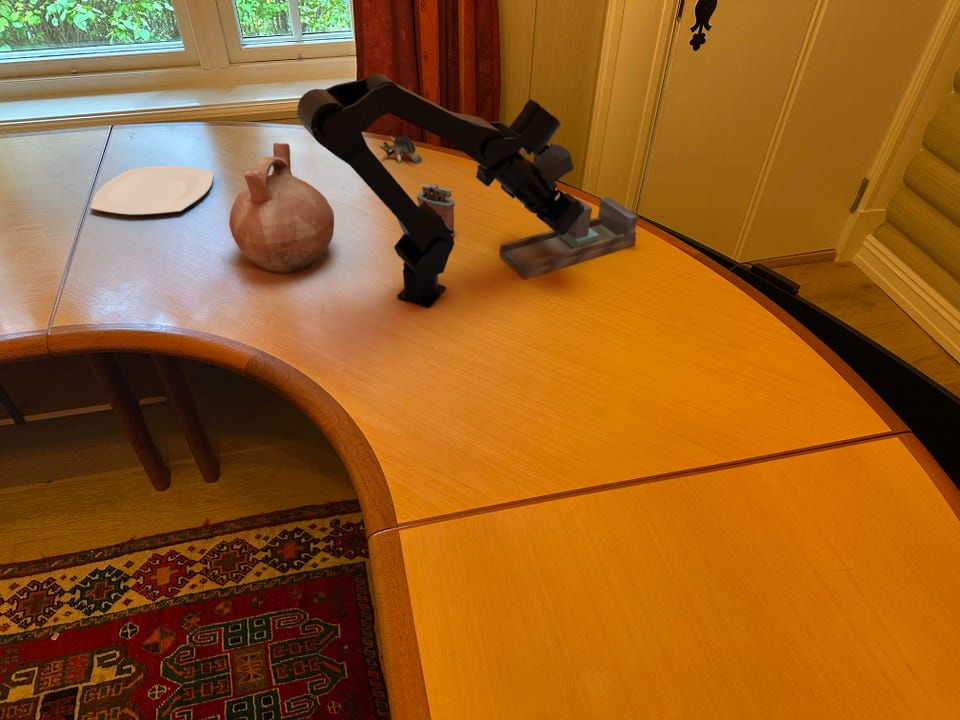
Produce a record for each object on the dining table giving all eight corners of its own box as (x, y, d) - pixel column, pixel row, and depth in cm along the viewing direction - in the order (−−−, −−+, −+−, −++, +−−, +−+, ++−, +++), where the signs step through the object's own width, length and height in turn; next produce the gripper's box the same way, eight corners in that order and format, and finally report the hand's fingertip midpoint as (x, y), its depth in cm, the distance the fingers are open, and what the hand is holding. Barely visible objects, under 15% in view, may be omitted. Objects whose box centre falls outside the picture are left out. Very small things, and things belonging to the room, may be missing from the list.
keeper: (576, 250, 115) (581, 213, 110) (558, 236, 119) (562, 199, 114) (597, 244, 117) (603, 207, 112) (578, 230, 121) (583, 194, 116)
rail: (524, 279, 110) (527, 248, 106) (499, 256, 116) (500, 225, 112) (634, 245, 120) (641, 215, 116) (606, 225, 126) (611, 196, 122)
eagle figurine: (379, 162, 144) (415, 159, 142) (377, 131, 143) (413, 127, 141) (391, 168, 152) (425, 165, 150) (389, 138, 151) (424, 135, 149)
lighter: (415, 231, 123) (412, 185, 116) (424, 224, 125) (422, 178, 118) (449, 241, 120) (449, 194, 113) (458, 234, 122) (457, 187, 116)
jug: (315, 290, 107) (294, 183, 93) (221, 277, 109) (188, 171, 96) (353, 238, 120) (339, 138, 107) (268, 227, 123) (244, 129, 109)
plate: (190, 224, 124) (187, 215, 123) (77, 220, 124) (73, 212, 123) (227, 175, 141) (225, 167, 140) (128, 172, 141) (125, 164, 140)
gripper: (582, 155, 93) (625, 205, 105) (518, 116, 106) (563, 164, 117) (535, 213, 96) (583, 255, 107) (478, 168, 108) (526, 211, 119)
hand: (564, 219), depth 113 cm, fingers closed
